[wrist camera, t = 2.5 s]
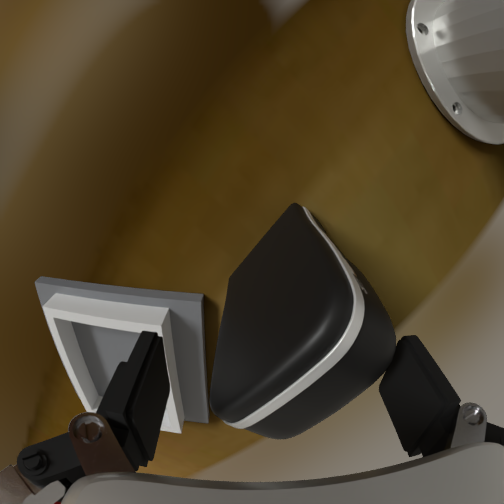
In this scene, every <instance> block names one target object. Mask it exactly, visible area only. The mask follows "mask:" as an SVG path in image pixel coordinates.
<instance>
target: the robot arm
mask: <svg viewBox="0 0 504 504" xmlns="http://www.w3.org/2000/svg"><path fill="white" fill-rule="evenodd" d="M406 34H407V40H408V46H409V50H410V53H411V56H412V59H413V63H414V66H415V68H416V70H417V72H418V75H419V77H420V79H421V82H422V84H423V85H424V87H425V89H426V90H427V92H428V94H429V96H430V97H431V99H432V100H433V102H434V103H435V104H436V106H437V107H438V109H439V110H440V111H441V113H442V114H443V115H444V116H445V117H446V118H447V119H448V120H449V121H450V122H451V124H452V125H453V126H455V127H456V128H457V129H458V130H460V131H461V132H462V133H463V134H465V135H467V136H468V137H470V138H472V139H474V140H476V141H480V142H484V143H489V144H498V145H499V144H503V143H504V0H411V2H410V4H409V6H408V11H407V15H406ZM379 392H380V395H381V397H382V399H383V401H384V404H385V406H386V408H387V411H388V413H389V415H390V418H391V420H392V422H393V425H394V427H395V429H396V432H397V434H398V437H399V439H400V442H401V444H402V447H403V449H404V451H407V452H408V455H409V457H412V456H416V455H419V454H421V453H422V455H423V457H422V458H419V459H415V460H412V461H409V462H405V463H401V464H397V465H393V466H389V467H385V468H380V469H376V470H371V471H366V472H361V473H355V474H350V475H343V476H336V477H329V478H322V479H313V480H300V481H283V482H227V481H210V480H197V479H187V478H179V477H171V476H162V475H154V474H145V473H136V472H135V471H138V468H139V466H144V467H147V464H148V460H150V461H152V460H153V458H154V454H155V450H156V446H157V441H158V437H159V433H160V429H161V425H162V421H163V417H164V413H165V409H166V405H167V401H168V397H169V393H170V381H169V376H168V370H167V363H166V357H165V350H164V343H163V338H162V337H161V336H158V333H157V332H151V331H142V332H141V334H140V336H139V338H138V340H137V342H136V344H135V346H134V348H133V350H132V352H131V355H130V357H129V359H128V361H127V362H124V361H121V362H120V363H119V365H118V366H117V368H116V370H115V372H114V375H113V377H112V379H111V381H110V383H109V385H108V387H107V389H106V392H105V394H104V396H103V398H102V400H101V402H100V405H99V407H98V409H97V411H96V413H94V412H85V413H81V414H79V415H77V416H75V417H74V418H73V419H72V420H71V422H70V424H69V427H68V432H67V433H65V434H62V435H59V436H57V437H54V438H51V439H49V440H46V441H43V442H40V443H37V444H34V445H31V446H28V447H26V448H24V449H23V450H22V451H21V452H20V453H19V455H18V458H17V465H15V466H12V465H9V466H8V467H6V468H5V469H4V470H2V471H1V472H0V504H54V503H55V502H61V504H504V428H501V427H499V426H496V425H494V424H491V423H488V422H487V415H486V413H485V411H484V410H483V408H482V407H480V406H479V405H477V404H475V403H465V404H463V405H462V406H460V405H459V403H460V401H461V400H460V398H459V396H458V395H457V393H456V392H455V390H454V389H453V387H452V386H451V384H450V383H449V381H448V380H447V378H446V377H445V375H444V374H443V372H442V371H441V369H440V368H439V366H438V365H437V363H436V362H435V361H434V359H433V358H432V356H431V355H430V354H429V352H428V351H427V349H426V348H425V347H424V345H423V344H422V342H421V341H420V339H419V338H418V337H417V336H416V335H411V336H403V337H402V338H401V340H399V341H398V343H397V345H396V350H395V353H394V356H393V359H392V362H391V363H390V365H389V366H388V368H387V369H386V372H385V374H384V376H383V379H382V381H381V383H380V385H379Z"/></svg>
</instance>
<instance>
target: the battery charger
mask: <svg viewBox="0 0 504 504" xmlns="http://www.w3.org/2000/svg"><path fill="white" fill-rule="evenodd" d="M395 350H396V335H395V332H394V328H393V325H392V322H391V320H390V317H389V315H388V313H387V311H386V310H385V308H384V306H383V304H382V303H381V301H380V299H379V297H378V296H377V294H376V293H375V291H374V289H373V288H372V286H371V285H370V283H369V282H368V281H367V279H366V278H365V276H364V275H363V274H362V273H361V272H360V271H359V269H358V268H357V267H356V266H355V265H353V264H352V263H351V262H350V261H349V260H348V259H346V258H345V257H344V255H343V254H342V253H341V252H340V250H339V249H338V248H337V247H336V246H335V244H334V243H333V242H332V241H331V240H330V239H329V238H328V237H327V235H326V231H325V230H324V229H323V227H322V225H321V224H320V223H319V222H318V220H317V219H316V218H315V217H314V216H312V215H311V214H310V211H309V210H308V209H306V208H305V207H301V206H300V205H299V204H297V203H293V204H291V205H290V206H289V207H288V208H287V210H286V211H285V212H284V213H283V214H282V215H281V217H280V218H279V219H278V220H277V221H276V222H275V224H274V225H273V226H272V227H271V228H270V230H269V231H268V232H267V233H266V234H265V235H264V237H263V238H262V239H261V240H260V241H259V243H258V244H257V245H256V246H255V247H254V249H253V250H252V251H251V252H250V253H249V255H248V256H247V257H246V258H245V259H244V261H243V262H242V263H241V264H240V265H239V267H238V268H237V269H236V270H235V272H234V273H233V274H232V275H231V276H230V278H229V283H228V289H227V296H226V301H225V307H224V311H223V316H222V321H221V326H220V331H219V336H218V341H217V347H216V352H215V359H214V365H213V372H212V379H211V387H210V407H211V410H212V412H213V413H214V414H215V415H216V416H217V417H219V418H220V419H222V420H223V421H224V423H226V424H228V425H230V426H233V427H235V428H239V429H242V428H244V429H246V430H249V431H251V432H254V433H257V434H259V435H262V436H265V437H268V438H273V439H288V438H292V437H294V436H296V435H299V434H301V433H303V432H304V431H306V430H308V429H310V428H311V427H313V426H314V425H316V424H318V423H320V422H321V421H323V420H324V419H326V418H328V417H329V416H331V415H332V414H334V413H335V412H337V411H338V410H340V409H341V408H342V407H344V406H345V405H346V404H348V403H349V402H350V401H352V400H353V399H354V398H356V397H357V396H358V395H359V394H361V393H362V392H363V391H365V390H366V389H367V388H368V387H370V386H371V385H372V384H373V383H374V382H375V381H376V380H377V379H378V378H379V377H380V376H381V375H382V374H383V373H384V372H385V371H386V369H387V368H388V366H389V365H390V363H391V362H392V359H393V356H394V353H395Z"/></svg>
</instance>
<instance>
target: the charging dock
mask: <svg viewBox="0 0 504 504" xmlns="http://www.w3.org/2000/svg"><path fill="white" fill-rule="evenodd" d="M35 285H36V289H37V292H38V296H39V299H40V302H41V306H42V309H43V312H44V314H45V318H46V321H47V324H48V327H49V329H50V332H51V335H52V338H53V340H54V343H55V345H56V348H57V350H58V353H59V355H60V358H61V360H62V362H63V365H64V367H65V369H66V371H67V374H68V376H69V378H70V380H71V382H72V384H73V387H74V389H75V391H76V393H77V395H78V397H79V398H80V399H81V401H82V403H83V405H84V407H85V409H86V411H87V412H94V413H96V411H97V409H98V407H99V405H100V402H101V400H102V398H103V396H104V394H105V392H106V389H107V387H108V385H109V383H110V381H111V379H112V377H113V375H114V372H115V370H116V368H117V366H118V365H119V363H120V362H121V361H124V362H127V361H128V359H129V357H130V355H131V352H132V350H133V348H134V346H135V344H136V342H137V340H138V338H139V336H140V334H141V332H142V331H151V332H157V333H158V336H161V337H162V338H163V343H164V350H165V357H166V363H167V370H168V376H169V381H170V393H169V397H168V401H167V405H166V409H165V413H164V417H163V421H162V425H161V429H160V430H163V431H169V432H175V433H181V432H182V427H183V422H184V421H192V422H200V423H208V422H209V403H208V388H207V372H206V354H205V331H204V301H203V294H196V293H184V292H172V291H161V290H150V289H140V288H130V287H121V286H112V285H103V284H95V283H86V282H78V281H70V280H63V279H56V278H49V277H42V276H41V277H40V278H39V279H38V280H37V281H35Z"/></svg>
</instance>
